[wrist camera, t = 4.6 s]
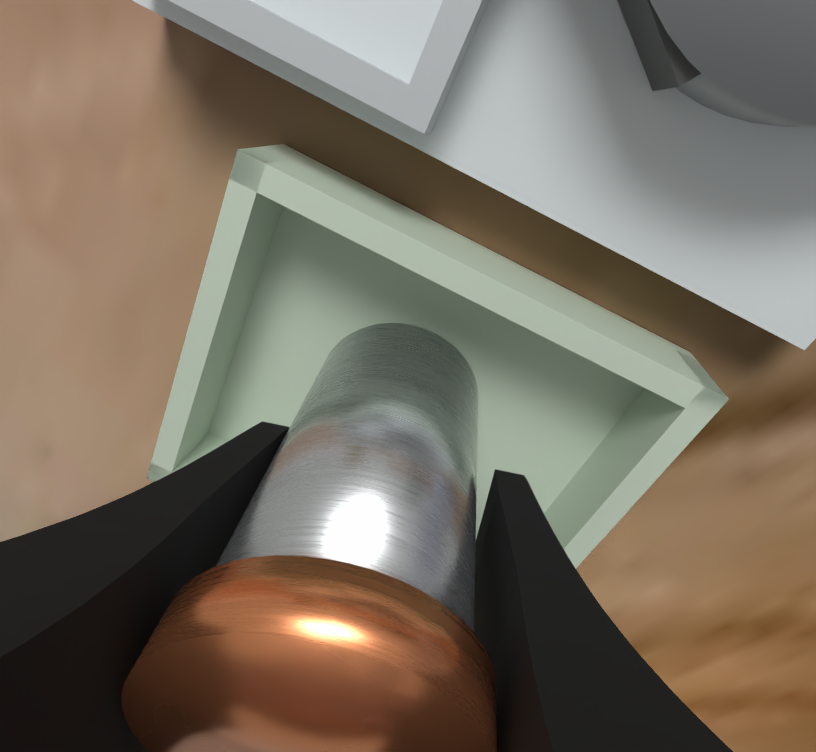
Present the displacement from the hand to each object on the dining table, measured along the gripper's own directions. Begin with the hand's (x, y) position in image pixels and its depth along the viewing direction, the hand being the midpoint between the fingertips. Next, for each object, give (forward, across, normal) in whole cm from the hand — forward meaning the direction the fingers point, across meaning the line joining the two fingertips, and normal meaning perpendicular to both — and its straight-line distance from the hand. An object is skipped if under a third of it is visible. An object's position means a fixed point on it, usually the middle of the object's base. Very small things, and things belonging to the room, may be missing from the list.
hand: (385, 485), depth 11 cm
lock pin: (+2, 0, -1) cm, 3 cm away
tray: (+4, 0, 0) cm, 4 cm away
